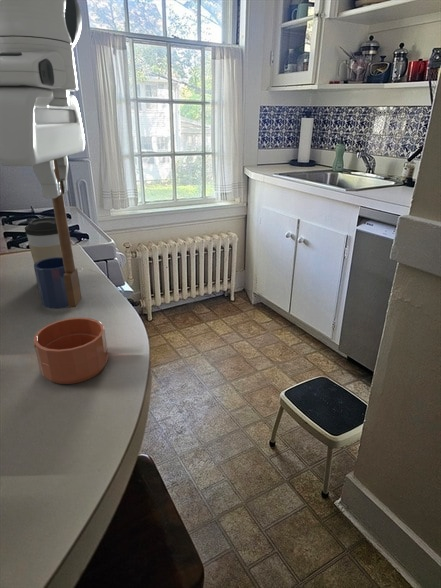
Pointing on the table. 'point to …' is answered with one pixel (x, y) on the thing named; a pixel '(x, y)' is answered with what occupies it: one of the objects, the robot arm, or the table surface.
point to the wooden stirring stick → (66, 247)
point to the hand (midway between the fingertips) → (56, 195)
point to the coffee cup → (43, 239)
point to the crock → (51, 282)
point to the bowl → (71, 350)
